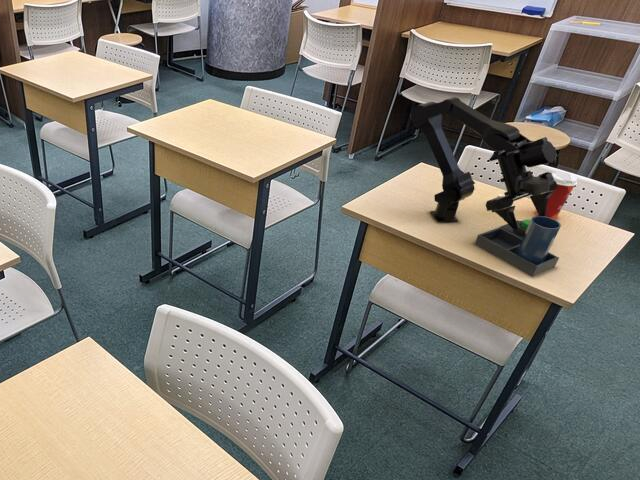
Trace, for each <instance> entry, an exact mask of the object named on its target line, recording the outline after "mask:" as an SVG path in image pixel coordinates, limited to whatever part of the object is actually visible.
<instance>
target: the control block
mask: <svg viewBox="0 0 640 480" xmlns="http://www.w3.org/2000/svg"><path fill="white" fill-rule="evenodd" d="M516 222H517V227H518V229H517V230H514V229H513V228H512V227H511V226H510V225H509V224H508V223H505V224H503V225H500V226H499V227H501V228H503V229H505V230H506V231H508V232H510V233H512V234H514V235H516V236H518V237H520V238H522V239H523V237H524V235H525V233H526V230H527V229H524V228H522V227H521V224H522V222H523V220H517V219H516Z"/></svg>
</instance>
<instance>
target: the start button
mask: <svg viewBox="0 0 640 480" xmlns="http://www.w3.org/2000/svg"><path fill="white" fill-rule="evenodd" d="M522 221H523V222H522V224H521V227H522V228H524V229H527V228H528V226H529V224H530V221H531V219H528V218H527V219H523V220H522Z"/></svg>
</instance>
